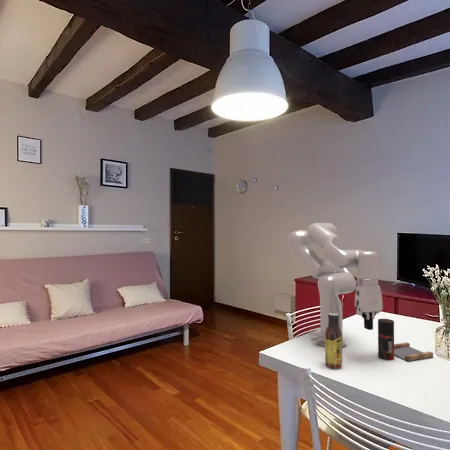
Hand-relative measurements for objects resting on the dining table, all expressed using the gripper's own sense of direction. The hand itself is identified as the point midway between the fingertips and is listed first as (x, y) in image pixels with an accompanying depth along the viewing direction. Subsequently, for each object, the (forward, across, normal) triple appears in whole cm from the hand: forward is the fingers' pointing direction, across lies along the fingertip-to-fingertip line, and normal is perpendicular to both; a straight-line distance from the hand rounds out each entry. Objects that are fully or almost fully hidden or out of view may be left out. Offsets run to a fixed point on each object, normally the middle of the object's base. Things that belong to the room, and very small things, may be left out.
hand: (368, 328), depth 137 cm
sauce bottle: (+13, -16, +1) cm, 21 cm away
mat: (+13, +20, +1) cm, 24 cm away
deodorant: (+13, +9, +1) cm, 16 cm away
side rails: (+13, +20, +1) cm, 24 cm away
